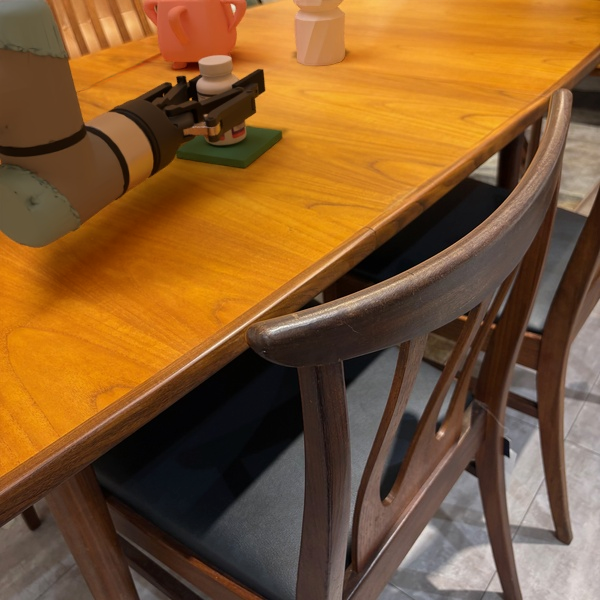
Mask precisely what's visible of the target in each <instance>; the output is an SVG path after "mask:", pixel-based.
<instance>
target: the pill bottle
mask: <svg viewBox="0 0 600 600" xmlns="http://www.w3.org/2000/svg"><path fill="white" fill-rule="evenodd" d="M198 69H199V75H200V74H201V75H202V78H200V79H199V80H198V82H197V85H196V88H197V94H198V100H199V102H200V101H202V100H205V99H208V98H210V97H213V96H215V95H218V94H221V93H223V92H226V91H228V90H231V89H232V84H234V83H236V82H237V81H239V80H240V78H239V76H237V75H236V74H233V72H234V65H233V58H232V56H231V57H230V56H225V55H216V56H209V57H205V58H202V59H200V60H199V62H198ZM246 126H247V124H246V120H244V121H243V122H241V123H240V124H238V125H237V126H235V127H234V128H232V129H231V130H229V131H227V132H226V133H224V134H223V135H222V137H221V139H220V140H219V141H218V142H213V143H212V142H209V141H208V137H206V135H204V136H205V140H206V141H207V142H208V143H210V144H213V145H229V144H234V143H237V142H240V141H241V140H243V139H244V138H245V137H246Z"/></svg>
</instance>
